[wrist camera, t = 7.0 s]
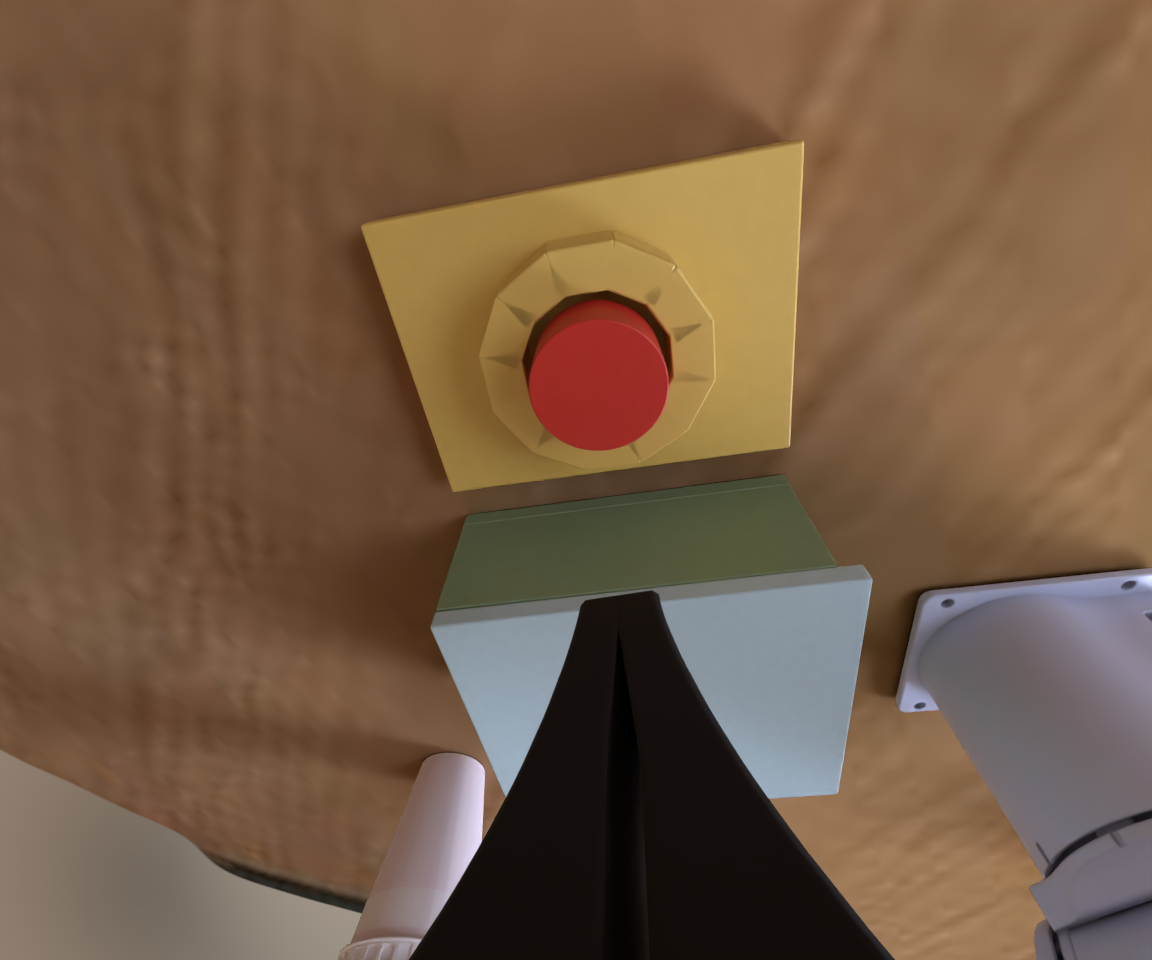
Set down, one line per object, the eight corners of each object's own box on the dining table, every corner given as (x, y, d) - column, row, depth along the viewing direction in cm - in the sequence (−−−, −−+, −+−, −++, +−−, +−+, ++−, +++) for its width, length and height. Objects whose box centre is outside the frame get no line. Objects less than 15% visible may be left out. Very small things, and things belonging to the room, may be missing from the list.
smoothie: (377, 749, 30) (241, 1138, 18) (481, 729, 29) (407, 1133, 17) (429, 806, 33) (341, 1169, 22) (524, 790, 32) (487, 1166, 20)
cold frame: (783, 473, 20) (838, 565, 16) (775, 671, 26) (813, 778, 22) (466, 514, 21) (434, 609, 17) (527, 693, 27) (515, 798, 23)
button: (655, 288, 14) (663, 307, 13) (665, 411, 16) (674, 441, 14) (522, 311, 15) (514, 332, 13) (548, 428, 16) (543, 459, 15)
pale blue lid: (863, 563, 16) (874, 579, 15) (831, 777, 22) (838, 794, 21) (434, 611, 17) (428, 627, 16) (515, 799, 23) (513, 817, 22)
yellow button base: (790, 139, 15) (833, 138, 12) (780, 432, 19) (809, 475, 17) (373, 219, 16) (331, 234, 13) (458, 476, 21) (440, 522, 18)
